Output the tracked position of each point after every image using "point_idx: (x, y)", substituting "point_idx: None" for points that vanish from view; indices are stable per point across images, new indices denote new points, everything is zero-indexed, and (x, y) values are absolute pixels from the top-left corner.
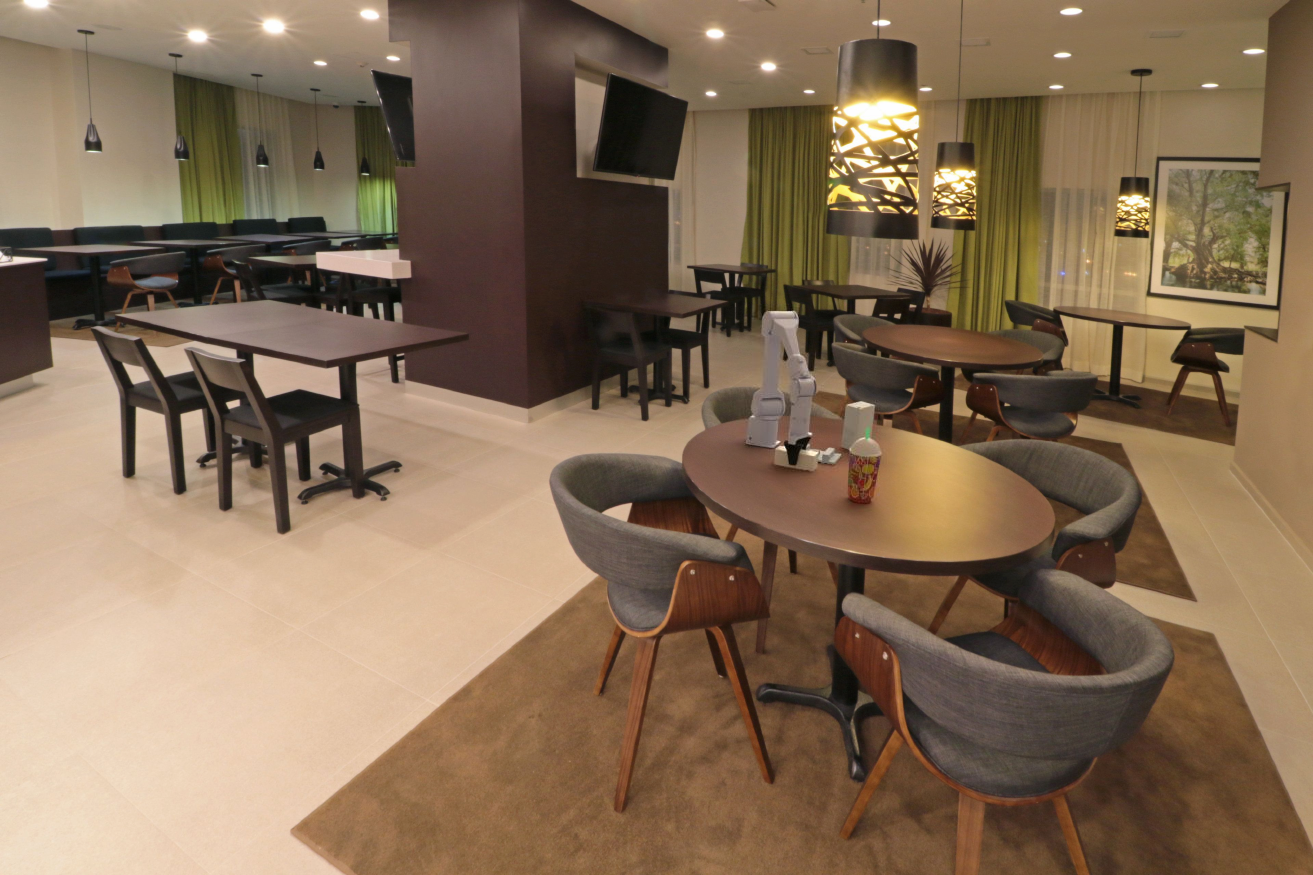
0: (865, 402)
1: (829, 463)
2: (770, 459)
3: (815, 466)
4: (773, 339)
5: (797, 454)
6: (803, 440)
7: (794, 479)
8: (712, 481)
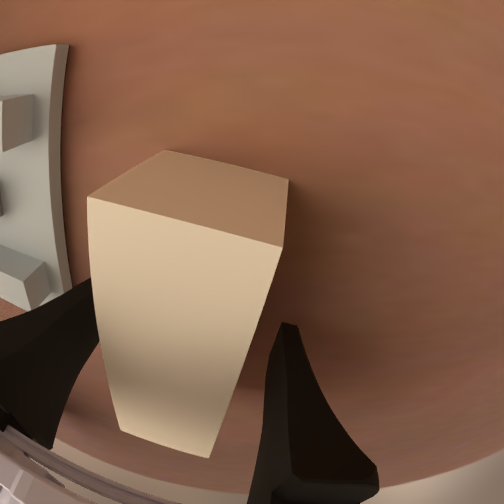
0: None
1: (59, 77)
2: None
3: (211, 168)
4: None
5: (325, 404)
6: (30, 384)
7: (471, 299)
8: (444, 463)
